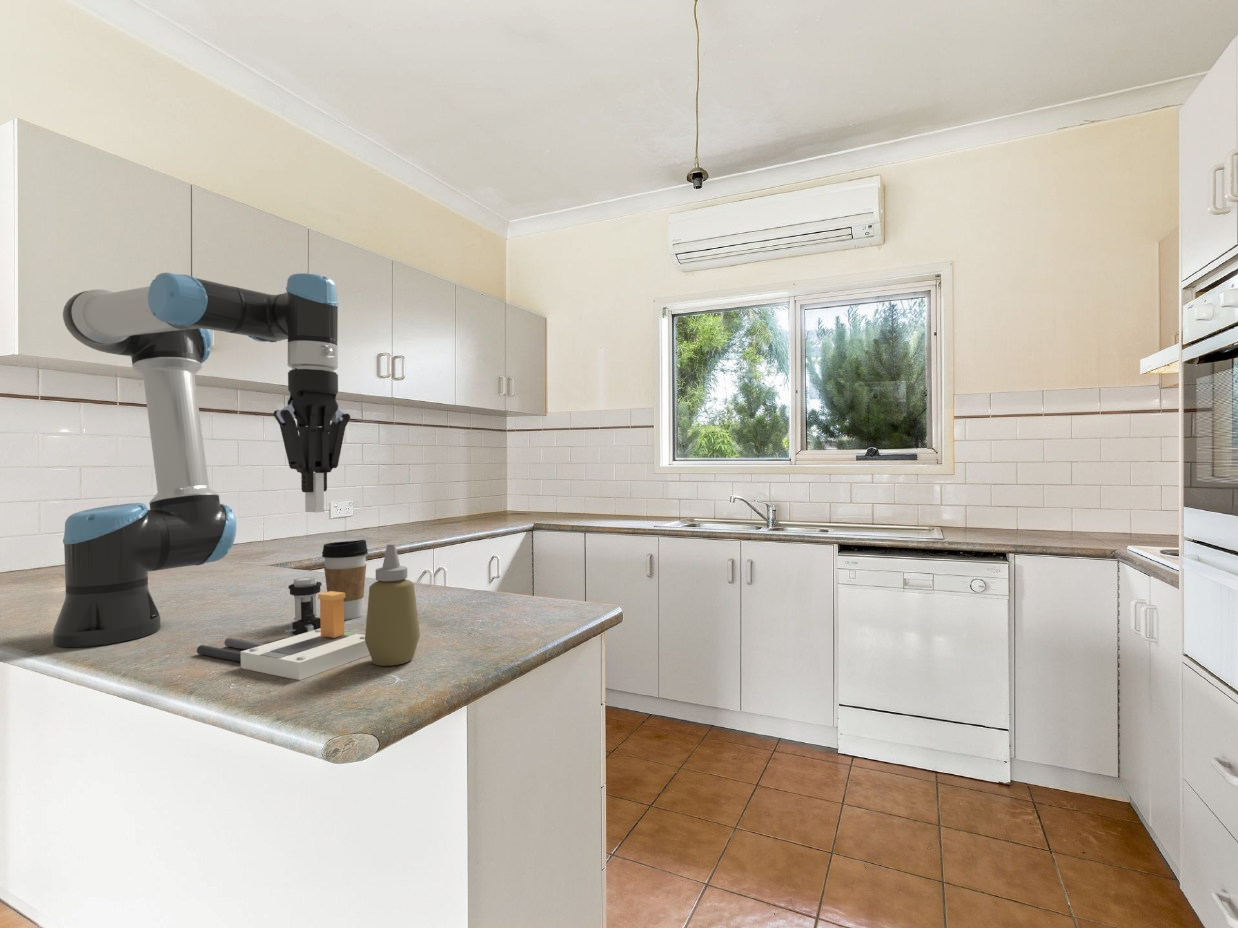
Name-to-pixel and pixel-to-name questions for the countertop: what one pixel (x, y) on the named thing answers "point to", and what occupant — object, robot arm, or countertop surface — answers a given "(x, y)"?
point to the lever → (332, 613)
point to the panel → (304, 654)
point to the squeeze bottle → (392, 614)
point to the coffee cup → (347, 573)
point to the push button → (304, 605)
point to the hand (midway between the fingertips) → (314, 511)
